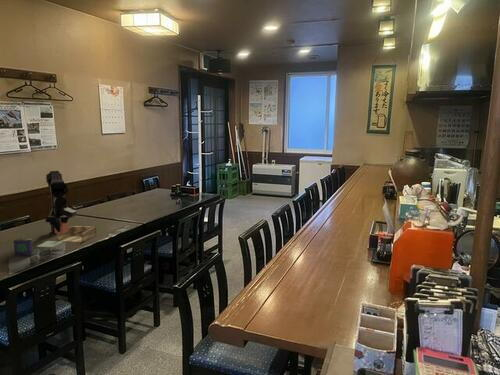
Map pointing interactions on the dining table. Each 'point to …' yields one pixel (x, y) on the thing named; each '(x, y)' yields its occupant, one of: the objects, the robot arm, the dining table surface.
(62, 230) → the block
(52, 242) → the plate
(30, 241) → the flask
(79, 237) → the hinoki box
